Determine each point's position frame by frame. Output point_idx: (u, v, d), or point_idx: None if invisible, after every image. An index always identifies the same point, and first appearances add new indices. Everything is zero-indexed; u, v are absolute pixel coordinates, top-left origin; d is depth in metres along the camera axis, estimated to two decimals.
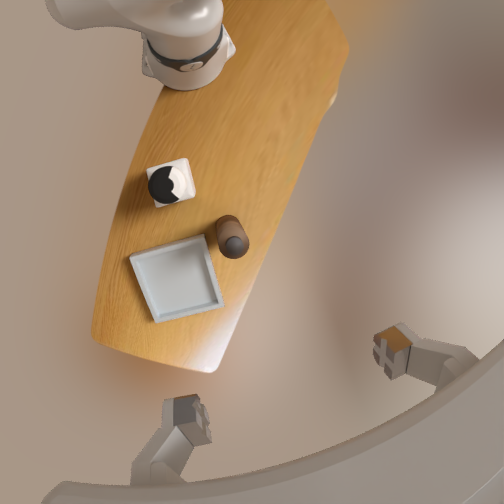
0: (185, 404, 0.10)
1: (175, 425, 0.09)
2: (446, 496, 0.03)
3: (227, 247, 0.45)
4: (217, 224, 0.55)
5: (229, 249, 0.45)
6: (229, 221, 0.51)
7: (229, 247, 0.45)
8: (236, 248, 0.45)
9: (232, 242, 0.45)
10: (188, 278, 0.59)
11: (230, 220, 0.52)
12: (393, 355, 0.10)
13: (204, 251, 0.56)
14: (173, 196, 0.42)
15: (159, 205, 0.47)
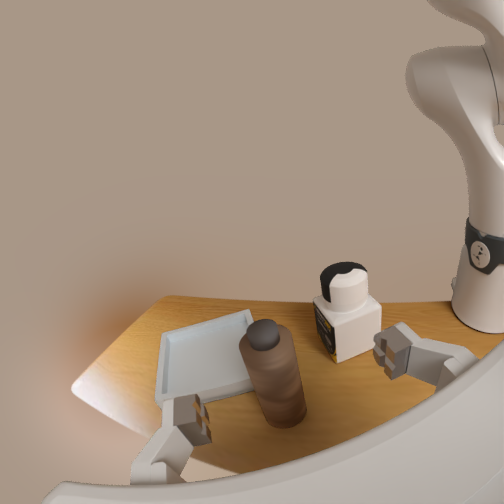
0: (185, 404, 0.10)
1: (175, 425, 0.09)
2: (446, 496, 0.03)
3: (262, 320, 0.26)
4: None
5: (257, 323, 0.26)
6: None
7: (261, 322, 0.26)
8: (259, 330, 0.25)
9: (270, 324, 0.25)
10: (209, 368, 0.39)
11: None
12: (393, 355, 0.10)
13: (248, 374, 0.34)
14: (331, 276, 0.33)
15: (315, 299, 0.38)
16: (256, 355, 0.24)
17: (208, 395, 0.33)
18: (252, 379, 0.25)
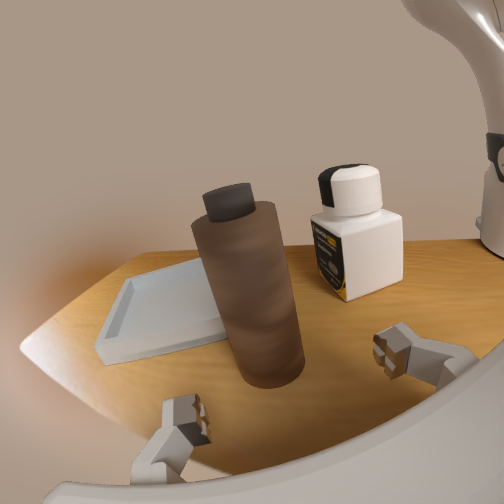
0: (185, 404, 0.10)
1: (175, 425, 0.09)
2: (446, 496, 0.03)
3: (229, 186, 0.17)
4: None
5: (222, 188, 0.17)
6: (292, 292, 0.18)
7: (227, 186, 0.17)
8: (221, 191, 0.16)
9: (239, 185, 0.16)
10: (174, 313, 0.30)
11: (294, 304, 0.18)
12: (393, 355, 0.10)
13: None
14: (332, 171, 0.24)
15: (314, 216, 0.29)
16: (214, 226, 0.15)
17: (163, 342, 0.24)
18: (212, 284, 0.16)
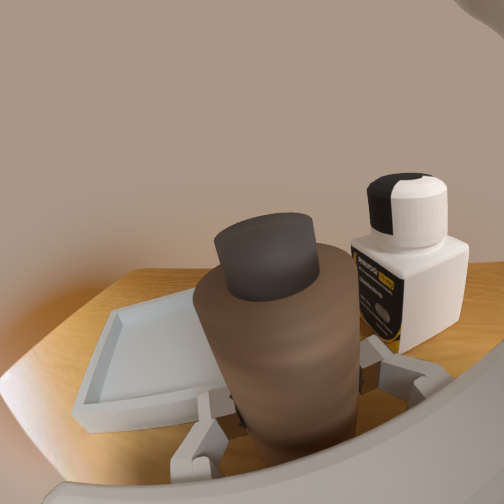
0: (222, 396, 0.10)
1: (213, 418, 0.09)
2: (446, 496, 0.03)
3: (263, 217, 0.09)
4: None
5: (251, 222, 0.09)
6: None
7: (261, 220, 0.09)
8: (254, 232, 0.08)
9: (288, 219, 0.08)
10: (171, 366, 0.22)
11: None
12: (361, 370, 0.10)
13: None
14: (390, 184, 0.16)
15: (356, 241, 0.21)
16: (244, 314, 0.07)
17: (159, 415, 0.16)
18: (234, 396, 0.09)
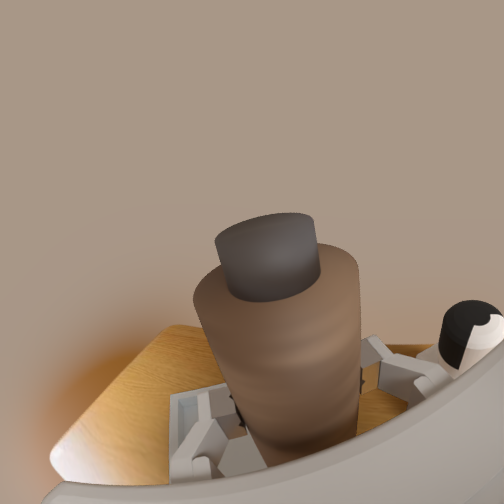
0: (222, 396, 0.10)
1: (214, 418, 0.09)
2: (446, 496, 0.03)
3: (264, 216, 0.09)
4: None
5: (252, 222, 0.09)
6: None
7: (262, 220, 0.09)
8: (255, 232, 0.08)
9: (289, 219, 0.08)
10: (251, 461, 0.21)
11: None
12: (361, 370, 0.10)
13: None
14: (467, 331, 0.15)
15: (421, 357, 0.20)
16: (245, 315, 0.07)
17: None
18: (235, 396, 0.08)
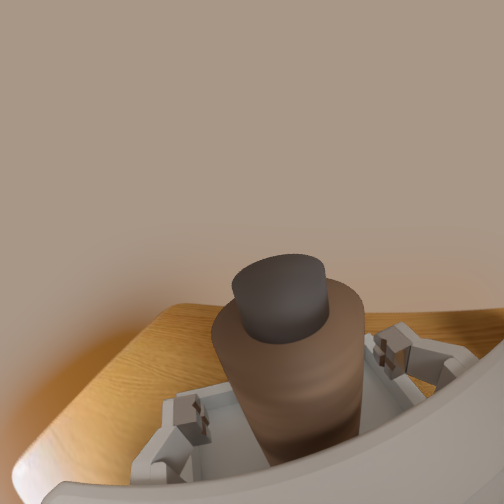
0: (185, 404, 0.10)
1: (175, 425, 0.09)
2: (446, 496, 0.03)
3: (277, 258, 0.10)
4: None
5: (265, 264, 0.09)
6: None
7: (275, 262, 0.09)
8: (270, 279, 0.08)
9: (301, 263, 0.09)
10: None
11: None
12: (393, 355, 0.10)
13: None
14: None
15: None
16: (262, 357, 0.07)
17: None
18: (249, 419, 0.09)
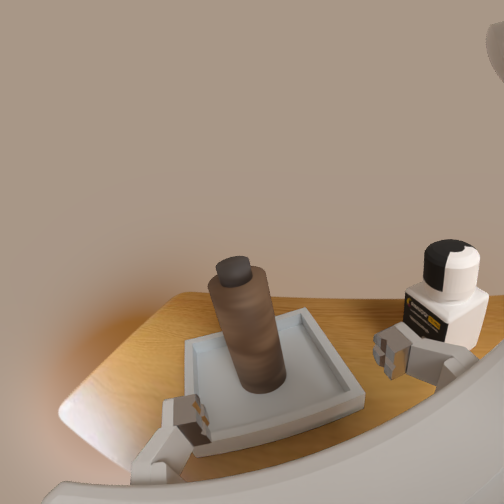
0: (185, 404, 0.10)
1: (175, 425, 0.09)
2: (446, 496, 0.03)
3: (234, 257, 0.24)
4: None
5: (229, 259, 0.24)
6: None
7: (232, 259, 0.24)
8: (229, 264, 0.23)
9: (241, 259, 0.24)
10: None
11: (278, 336, 0.26)
12: (393, 355, 0.10)
13: (332, 399, 0.21)
14: (444, 255, 0.21)
15: (410, 290, 0.26)
16: (225, 291, 0.22)
17: (271, 434, 0.20)
18: (222, 325, 0.24)
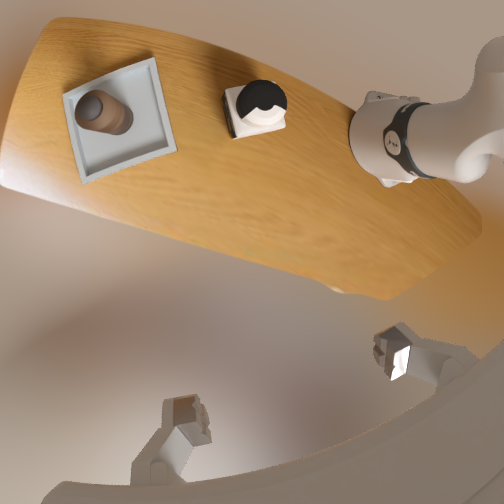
0: (185, 404, 0.10)
1: (175, 425, 0.09)
2: (446, 496, 0.03)
3: (88, 97, 0.24)
4: None
5: (85, 101, 0.24)
6: (124, 110, 0.32)
7: (88, 100, 0.24)
8: (86, 109, 0.24)
9: (94, 103, 0.24)
10: None
11: (125, 113, 0.32)
12: (393, 355, 0.10)
13: (156, 151, 0.38)
14: (249, 108, 0.30)
15: (228, 93, 0.33)
16: (86, 125, 0.26)
17: (124, 168, 0.39)
18: None
